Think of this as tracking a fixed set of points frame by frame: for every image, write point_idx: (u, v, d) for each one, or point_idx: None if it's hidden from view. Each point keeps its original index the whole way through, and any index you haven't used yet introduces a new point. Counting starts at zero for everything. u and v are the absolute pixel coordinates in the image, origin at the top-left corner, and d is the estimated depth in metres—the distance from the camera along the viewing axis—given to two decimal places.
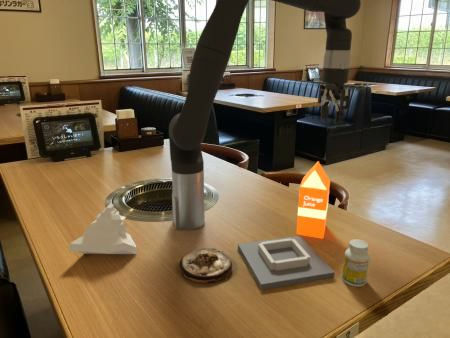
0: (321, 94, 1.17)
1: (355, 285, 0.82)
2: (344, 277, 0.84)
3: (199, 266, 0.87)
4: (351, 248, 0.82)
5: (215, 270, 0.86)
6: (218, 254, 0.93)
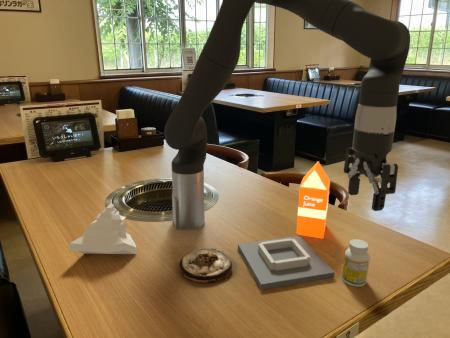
0: (349, 161, 0.82)
1: (355, 285, 0.82)
2: (344, 277, 0.84)
3: (199, 266, 0.87)
4: (351, 248, 0.82)
5: (215, 270, 0.86)
6: (218, 254, 0.93)
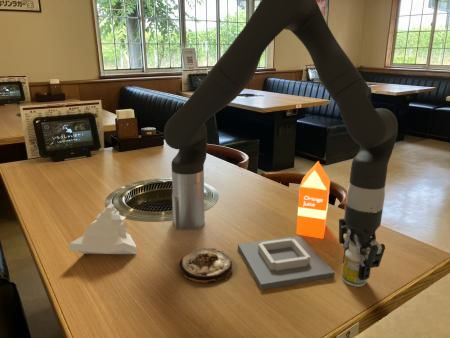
0: (343, 232, 0.86)
1: (355, 285, 0.82)
2: (344, 277, 0.84)
3: (199, 266, 0.87)
4: (351, 248, 0.82)
5: (215, 270, 0.86)
6: (218, 254, 0.93)
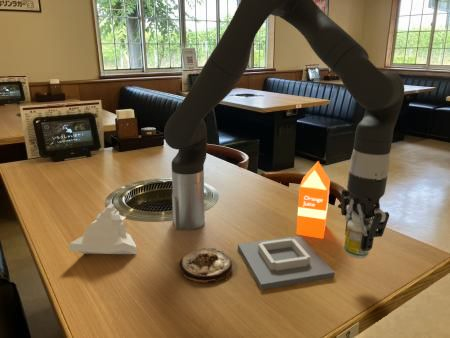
0: (345, 203, 0.84)
1: (357, 256, 0.80)
2: (346, 249, 0.82)
3: (199, 266, 0.87)
4: (354, 218, 0.79)
5: (215, 270, 0.86)
6: (218, 254, 0.93)
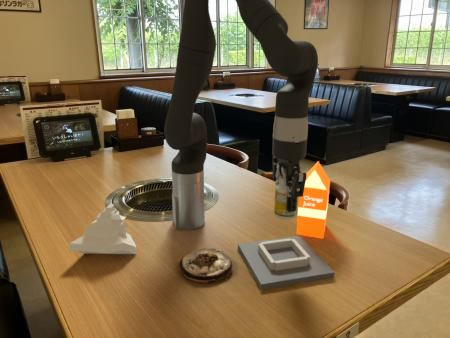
0: (275, 169, 0.89)
1: (284, 217, 0.85)
2: (275, 211, 0.87)
3: (199, 266, 0.87)
4: (280, 181, 0.85)
5: (215, 270, 0.86)
6: (218, 254, 0.93)
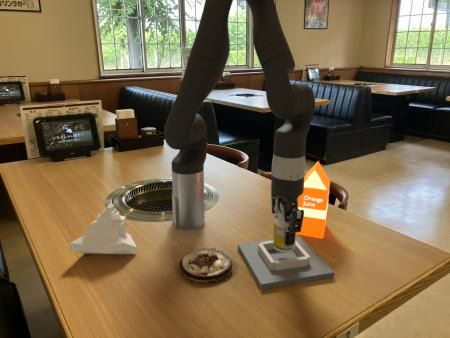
0: (274, 202, 0.92)
1: (283, 251, 0.88)
2: (274, 244, 0.90)
3: (199, 266, 0.87)
4: (278, 216, 0.87)
5: (215, 270, 0.86)
6: (218, 254, 0.93)
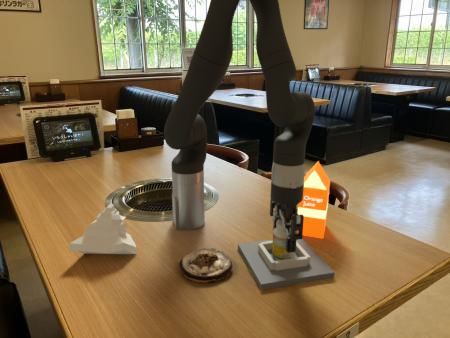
0: (273, 206, 0.93)
1: None
2: (273, 253, 0.91)
3: (199, 266, 0.87)
4: (277, 226, 0.88)
5: (215, 270, 0.86)
6: (218, 254, 0.93)
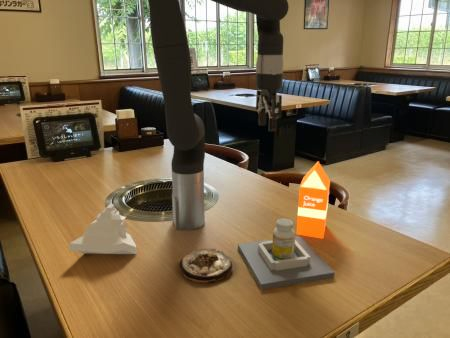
0: (258, 100, 1.12)
1: None
2: (273, 253, 0.91)
3: (199, 266, 0.87)
4: (277, 226, 0.88)
5: (215, 270, 0.86)
6: (218, 254, 0.93)
